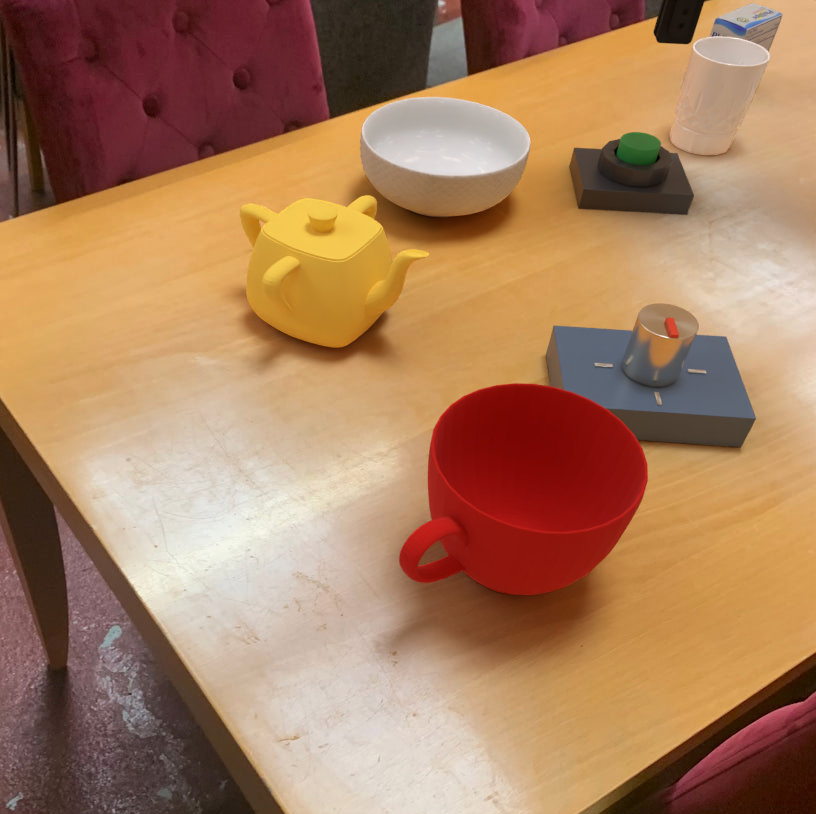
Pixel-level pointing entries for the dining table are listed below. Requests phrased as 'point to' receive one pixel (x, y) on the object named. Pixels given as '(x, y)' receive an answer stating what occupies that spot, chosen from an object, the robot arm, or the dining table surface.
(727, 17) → the medicine box
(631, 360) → the program dial
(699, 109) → the white cup
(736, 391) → the panel
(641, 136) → the button
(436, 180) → the cereal bowl
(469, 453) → the ceramic cup
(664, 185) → the button block
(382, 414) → the dining table surface
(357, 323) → the teapot
